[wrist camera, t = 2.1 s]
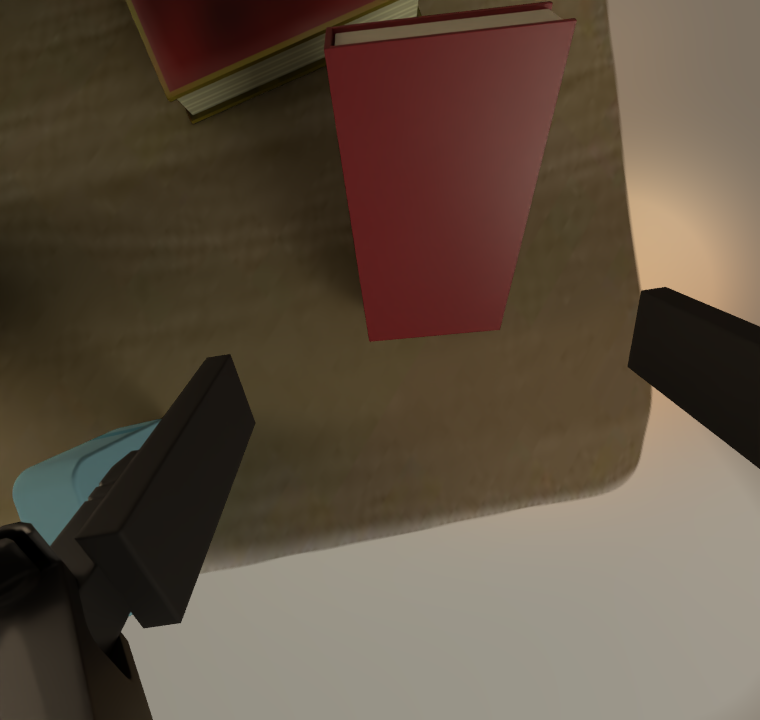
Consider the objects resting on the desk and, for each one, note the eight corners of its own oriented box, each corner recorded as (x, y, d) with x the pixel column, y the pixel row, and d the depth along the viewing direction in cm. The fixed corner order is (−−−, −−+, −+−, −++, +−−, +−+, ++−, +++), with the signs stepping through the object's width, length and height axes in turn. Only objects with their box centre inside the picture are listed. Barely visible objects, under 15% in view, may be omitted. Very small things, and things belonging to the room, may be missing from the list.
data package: (125, 424, 37) (2, 478, 25) (170, 413, 37) (67, 464, 25) (162, 538, 39) (62, 641, 27) (206, 529, 38) (124, 628, 27)
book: (326, 27, 19) (323, 48, 17) (550, 0, 19) (577, 19, 17) (367, 312, 35) (369, 341, 33) (490, 300, 35) (500, 329, 33)
